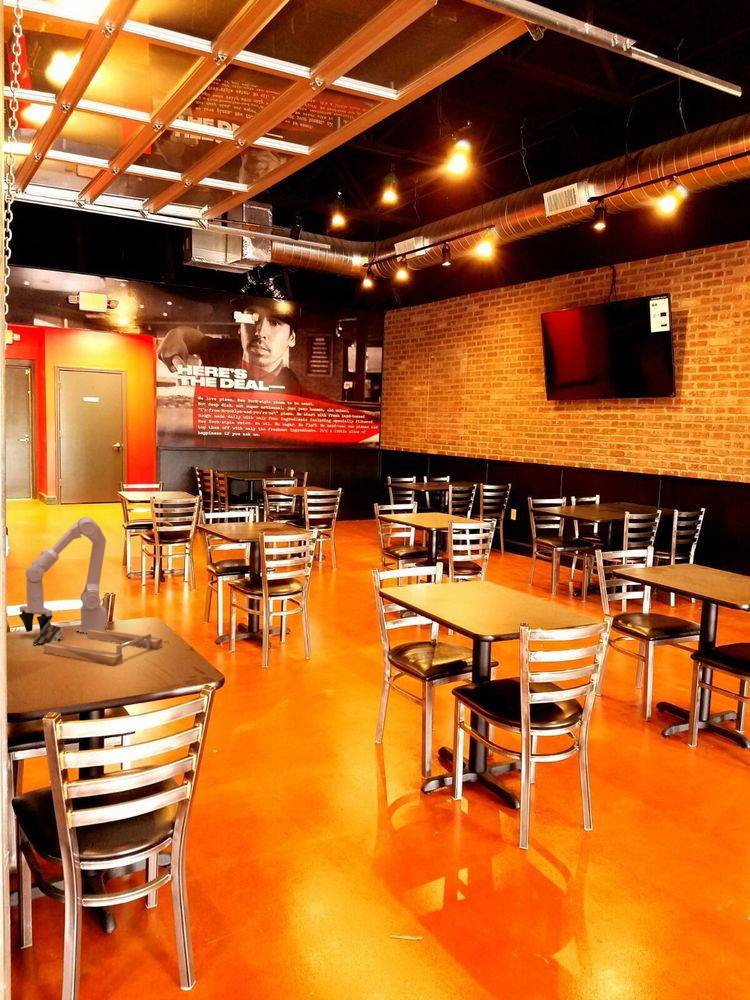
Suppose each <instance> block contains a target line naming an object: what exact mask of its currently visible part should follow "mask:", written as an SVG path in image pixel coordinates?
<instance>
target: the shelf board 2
mask: <svg viewBox="0 0 750 1000" xmlns="http://www.w3.org/2000/svg"><path fill="white" fill-rule="evenodd" d="M143 636H144V635H140V634H135V633H134V634H133V633H128V632H122V631H116V630H110V629H106V630H105V629H99V628H93V629H90V630H87V634H86V637H88V638H93V639H92V640H94V639H98V640H97V641H100V640H104V641H103V642H106V641H110V642H109V643H112V642H116V643H115V644H117V643H121V644H124V643H126V642H129V641H132V640H135V639H137V638H140V637H143ZM88 638H87V639H88ZM151 640H152V649H154V650H153V651H156V650H158V649H161V648H163V638H160V637H159V638H158V637H154V636H151ZM121 644H120V645H121ZM135 646H136V648H141V647H143V648H142V649H146V648H147V639H144V640H142V641H139V642H136V643H134V644H131V647H135ZM160 647H161V648H160ZM157 648H158V649H157ZM152 649H151V650H152ZM155 649H156V650H155Z"/></svg>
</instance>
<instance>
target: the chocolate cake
mask: <svg viewBox="0 0 750 1000" xmlns="http://www.w3.org/2000/svg"><path fill="white" fill-rule="evenodd" d="M63 629H64V628H63V627H60V626H57V625H54V624H51V620H49V621H48V623H47V624H46V625H45V626H44V627H43V629H42V630H41V632H40V631H39V633H38V634H37V635H36V637H35V638H34V640H33V642H32V645H33V644H36V643H39V644H41V643H42V644H41V645H44V644H46V643H50V642H53V641H59V640H58V639H61V638H62V639H63V638H64V631H63ZM39 644H38V645H39Z"/></svg>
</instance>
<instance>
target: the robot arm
mask: <svg viewBox="0 0 750 1000" xmlns="http://www.w3.org/2000/svg"><path fill="white" fill-rule="evenodd" d="M83 536H84V537H85V538H88V540H89V541H90V542H91V543H92V544H91V551H90V557H89V564H88V570H87V576H86V581H85V585H84V588H83V589H84V590H83V591H82V593H81V595H80V601H81V603H82V606H81V607H80V626H81V627H80V629H77V630H76V631H79V632H78V633H80V632H84V633H83V634H86V633H87V630H90V629H93V628H99V629H103V628H104V627H106V626H107V627H108V612H107V609H106V607H105V606H102V605H101V598H100V583H101V575H102V571H103V570H102V568H103V563H104V556H105V551H106V543H107V539H106V537H105V535H104V533H103V531H102V529H101V527H100V526H99V525H98V523H97V522H96V521H94V519H92V518H91V517H89V516H84V517H81V518H80V519H78V521H77V522H75V523H74V524H73V525H71V527H70V528H68V530H67V531H66V532H65V533H64V534H63V536H62V537H61V538H60V539H59V540H58V541H57V542H56V543H55V545H53V546H52V548H48V549H45V550H42V551H40V556H38V557H37V558H36V560H35V561H34V560H33V561H32V562H31V565H29V566H28V567H27V568H26V570H25V574H24V575H25V577H26V582H25V583H26V585H25V586H26V587H25V589H26V605H22V606H20V607H19V612H20V614H18V616H19V618H20V619H21V622H22V623H23V626H24V628H25V631H26V633H29V632H32V631H33V628H34V627H33V625H34V624H33V622H34V618H35V617H34V616H35V615H38V616H36V620H37V621H38V626H39V633H40V632H41V630H42V629H43V627H44V626H45V625H46V624H47V623H48V621H49V620H50V621H52V618H53V610H52V609H48V608H46V607H45V603H44V599H45V598H44V584H43V579H44V575H45V573H47V572H48V571H49V570H50V569H51V568H52V567H53V566H54V565H55V563H57V561H59V554H60V553H61V552H62V551H63V550H65V548H66V547H68V545H70V544H71V543H72V542H73V541H74V540H76V539H77V540H78V539H81V538H82V537H83Z"/></svg>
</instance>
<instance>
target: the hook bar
mask: <svg viewBox="0 0 750 1000" xmlns="http://www.w3.org/2000/svg"><path fill="white" fill-rule="evenodd" d="M142 636H143V637H140V638H137V639H135V640H132V641H129V642H126V643H124V644H118V645H116V648H115V649H116V651H115V653H119V654H122V655H123V651H122V650H123V648H126V647H129V645H131V644H134V643H136V642H139V641H142V640H144V639H147V649H146V651H152V640H151V637H152V633H149V634H146V635H142Z"/></svg>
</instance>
